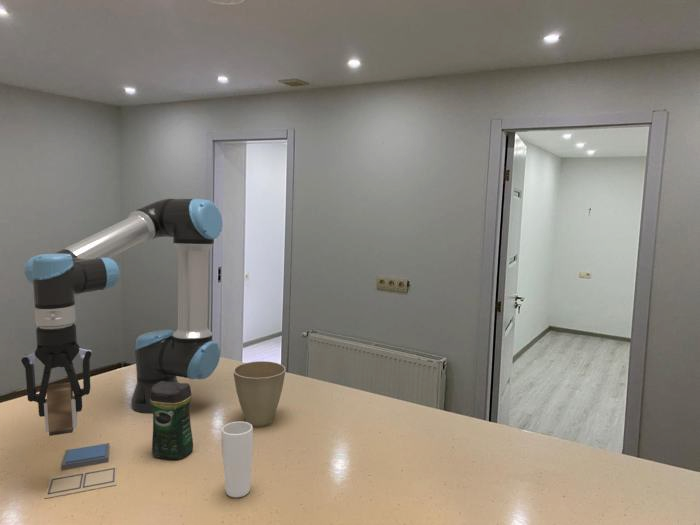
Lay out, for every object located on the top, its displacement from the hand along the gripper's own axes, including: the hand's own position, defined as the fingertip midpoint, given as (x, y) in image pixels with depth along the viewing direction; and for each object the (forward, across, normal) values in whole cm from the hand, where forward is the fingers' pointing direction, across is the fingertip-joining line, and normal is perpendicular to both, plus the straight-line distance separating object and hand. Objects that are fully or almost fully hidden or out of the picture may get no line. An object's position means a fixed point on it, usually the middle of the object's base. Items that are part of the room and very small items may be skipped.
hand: (61, 427), depth 113 cm
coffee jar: (+14, +24, +7) cm, 28 cm away
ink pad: (+14, +4, +12) cm, 18 cm away
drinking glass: (+14, +36, -17) cm, 42 cm away
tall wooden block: (+1, 0, 0) cm, 1 cm away
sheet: (+14, +4, 0) cm, 14 cm away
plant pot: (+14, +49, +17) cm, 53 cm away
